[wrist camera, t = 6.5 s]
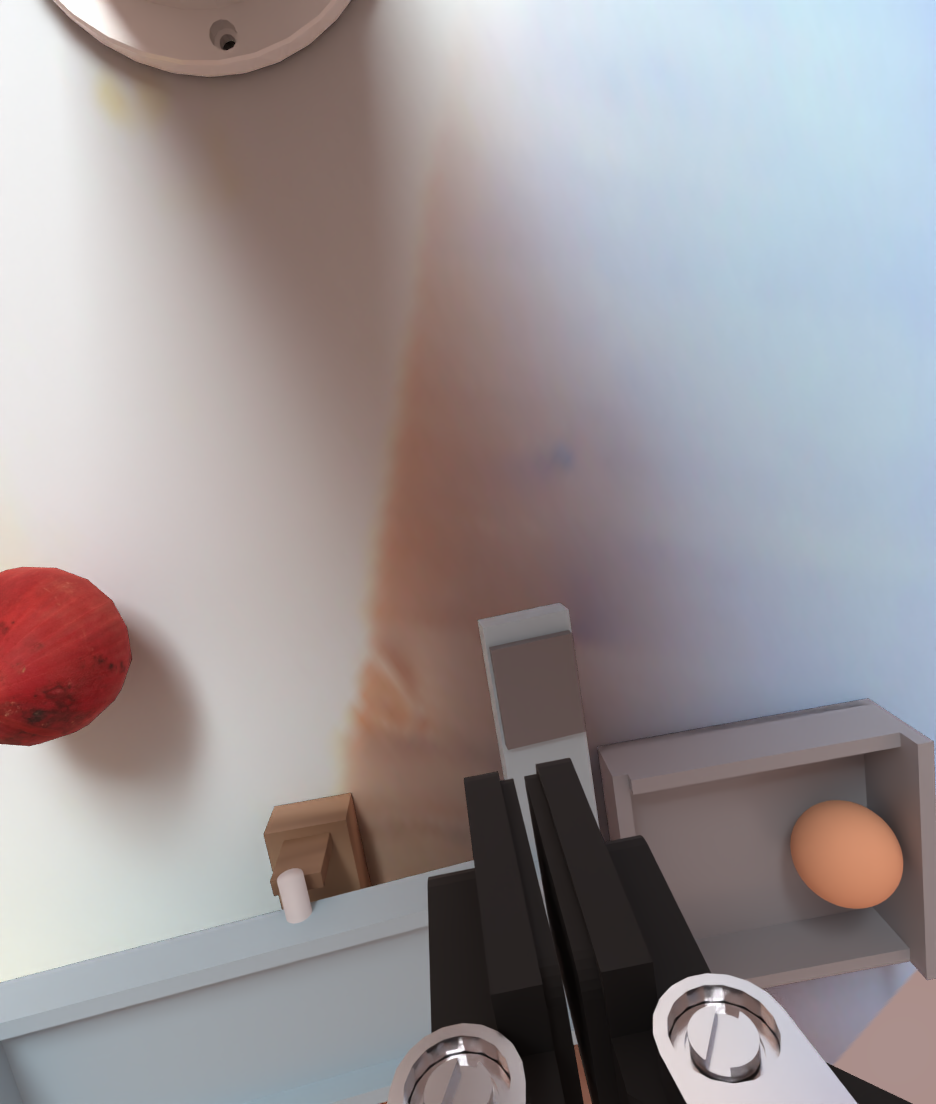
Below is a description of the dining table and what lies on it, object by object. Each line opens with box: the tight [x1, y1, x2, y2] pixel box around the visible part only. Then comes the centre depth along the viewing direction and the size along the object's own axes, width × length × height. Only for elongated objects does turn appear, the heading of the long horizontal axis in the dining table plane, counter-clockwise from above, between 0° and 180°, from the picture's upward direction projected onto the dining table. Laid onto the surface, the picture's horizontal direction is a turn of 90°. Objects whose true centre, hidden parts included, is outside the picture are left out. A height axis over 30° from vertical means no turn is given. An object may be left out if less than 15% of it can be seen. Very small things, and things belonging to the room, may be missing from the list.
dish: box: [597, 698, 936, 989], centre depth 29 cm, size 10×12×4 cm
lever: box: [0, 603, 600, 1104], centre depth 24 cm, size 18×22×4 cm
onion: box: [0, 567, 132, 746], centre depth 24 cm, size 6×6×8 cm
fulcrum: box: [264, 793, 371, 910], centre depth 29 cm, size 10×3×4 cm, turn 9°
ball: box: [790, 800, 903, 909], centre depth 29 cm, size 4×4×4 cm
